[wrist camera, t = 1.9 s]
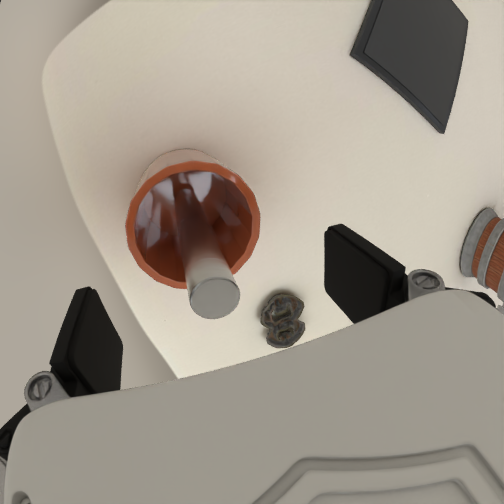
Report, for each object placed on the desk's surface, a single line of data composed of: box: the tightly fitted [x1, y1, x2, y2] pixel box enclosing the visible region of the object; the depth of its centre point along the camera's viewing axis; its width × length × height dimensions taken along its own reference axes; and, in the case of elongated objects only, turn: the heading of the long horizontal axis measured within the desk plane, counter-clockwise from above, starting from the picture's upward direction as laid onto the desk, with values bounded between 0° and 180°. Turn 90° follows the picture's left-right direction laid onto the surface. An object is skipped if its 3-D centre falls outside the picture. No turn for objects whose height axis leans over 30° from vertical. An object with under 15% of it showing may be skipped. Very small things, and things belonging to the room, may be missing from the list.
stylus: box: [174, 189, 240, 319], centre depth 16 cm, size 2×2×14 cm
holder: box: [125, 149, 260, 289], centre depth 19 cm, size 8×8×8 cm
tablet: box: [350, 0, 468, 134], centre depth 20 cm, size 16×22×1 cm
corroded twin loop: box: [261, 294, 305, 348], centre depth 30 cm, size 5×8×1 cm, turn 12°
